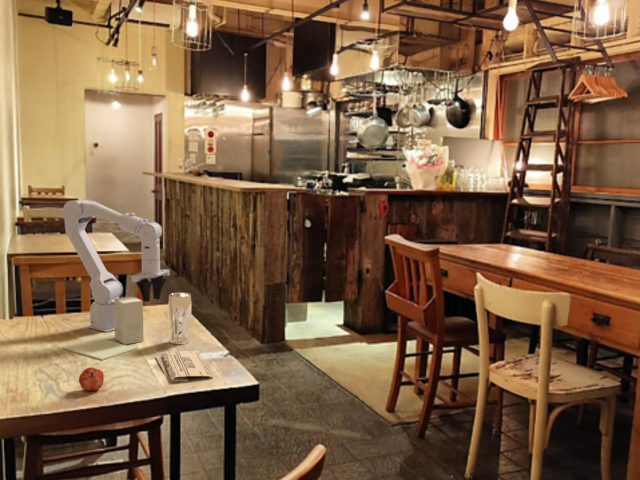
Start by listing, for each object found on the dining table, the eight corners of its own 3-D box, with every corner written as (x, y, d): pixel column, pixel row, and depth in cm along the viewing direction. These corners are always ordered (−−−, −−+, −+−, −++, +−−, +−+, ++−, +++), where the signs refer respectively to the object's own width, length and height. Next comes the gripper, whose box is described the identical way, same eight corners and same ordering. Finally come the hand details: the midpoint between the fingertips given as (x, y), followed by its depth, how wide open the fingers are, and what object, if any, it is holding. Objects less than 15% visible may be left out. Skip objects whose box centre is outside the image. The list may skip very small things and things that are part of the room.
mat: (62, 348, 171) (62, 347, 171) (96, 338, 181) (96, 337, 181) (102, 360, 162) (102, 359, 162) (136, 349, 172) (136, 348, 172)
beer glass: (195, 339, 183) (195, 293, 181) (183, 346, 176) (183, 298, 174) (176, 337, 185) (176, 291, 183) (164, 343, 178) (163, 295, 176)
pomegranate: (78, 394, 142) (75, 385, 136) (81, 372, 145) (79, 362, 139) (102, 395, 143) (101, 386, 137) (105, 373, 146) (104, 363, 140)
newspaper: (154, 359, 166) (155, 350, 166) (197, 359, 171) (198, 350, 170) (164, 387, 145) (165, 377, 145) (212, 386, 150) (213, 376, 149)
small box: (144, 341, 180) (143, 300, 178) (123, 345, 176) (123, 303, 174) (133, 335, 186) (133, 295, 184) (114, 338, 182) (113, 298, 180)
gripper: (141, 263, 180) (142, 306, 182) (175, 257, 192) (176, 297, 194) (126, 261, 183) (127, 303, 185) (160, 255, 196) (161, 294, 198)
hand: (151, 300), depth 190 cm, fingers open, 4 cm apart
